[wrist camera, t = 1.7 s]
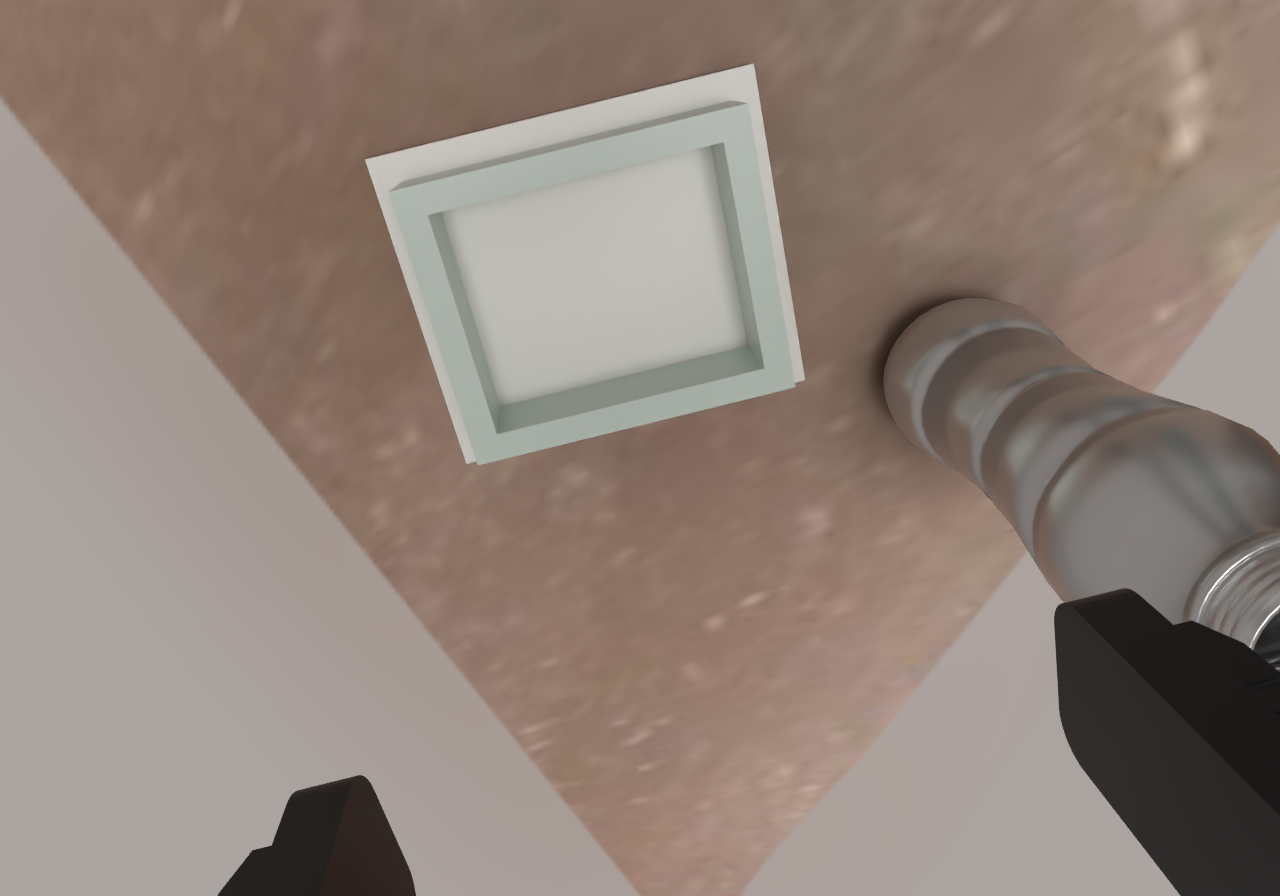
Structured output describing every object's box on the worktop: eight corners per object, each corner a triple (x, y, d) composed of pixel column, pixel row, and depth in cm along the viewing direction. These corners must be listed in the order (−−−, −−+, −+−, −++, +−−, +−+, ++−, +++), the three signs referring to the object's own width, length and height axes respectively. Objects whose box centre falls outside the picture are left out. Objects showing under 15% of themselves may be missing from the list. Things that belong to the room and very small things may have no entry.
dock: (368, 158, 32) (347, 168, 29) (750, 63, 32) (773, 62, 29) (467, 457, 37) (459, 495, 34) (801, 375, 37) (826, 405, 34)
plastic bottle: (1020, 426, 39) (1443, 746, 20) (865, 444, 39) (1153, 786, 20) (1032, 276, 36) (1528, 488, 18) (866, 294, 36) (1198, 529, 18)
